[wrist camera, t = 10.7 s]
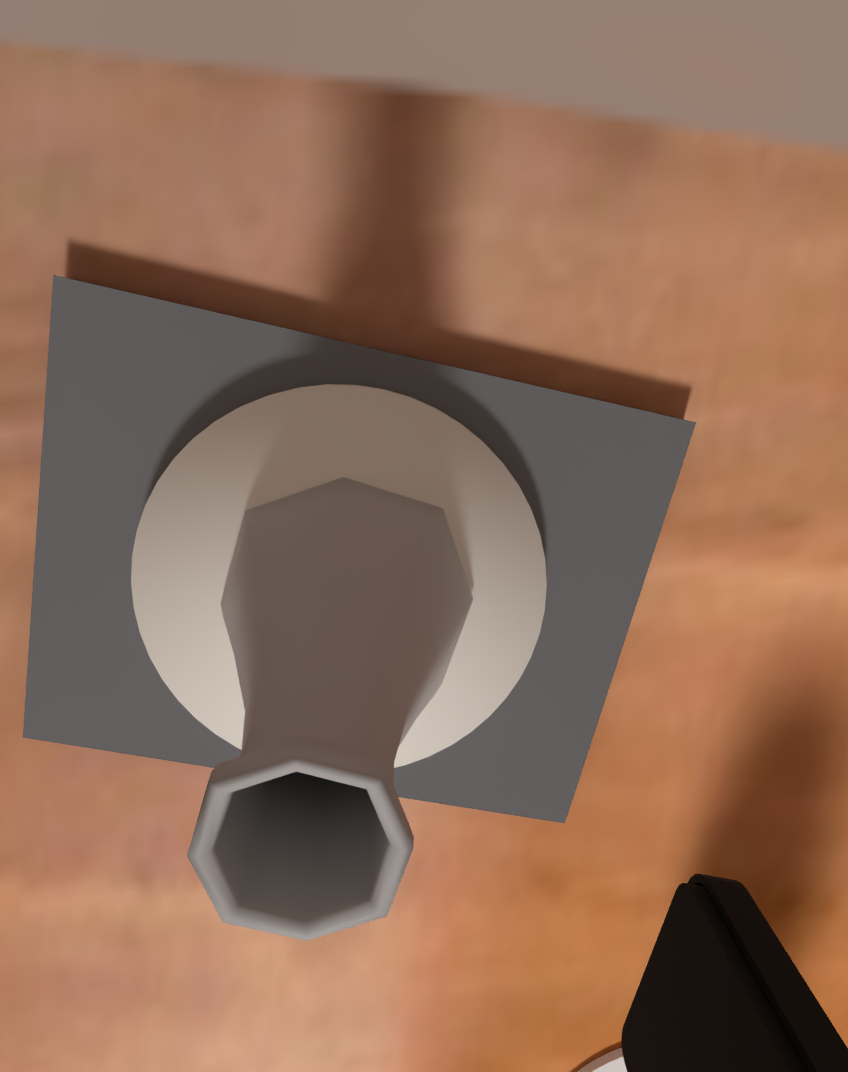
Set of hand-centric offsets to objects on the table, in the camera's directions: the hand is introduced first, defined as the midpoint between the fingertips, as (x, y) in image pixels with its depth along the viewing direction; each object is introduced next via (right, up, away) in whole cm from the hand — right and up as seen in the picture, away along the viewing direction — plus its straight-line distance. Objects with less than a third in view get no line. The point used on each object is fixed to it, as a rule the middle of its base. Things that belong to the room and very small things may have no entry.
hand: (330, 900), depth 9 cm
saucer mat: (-1, +4, +12) cm, 12 cm away
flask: (-1, +3, +10) cm, 11 cm away
